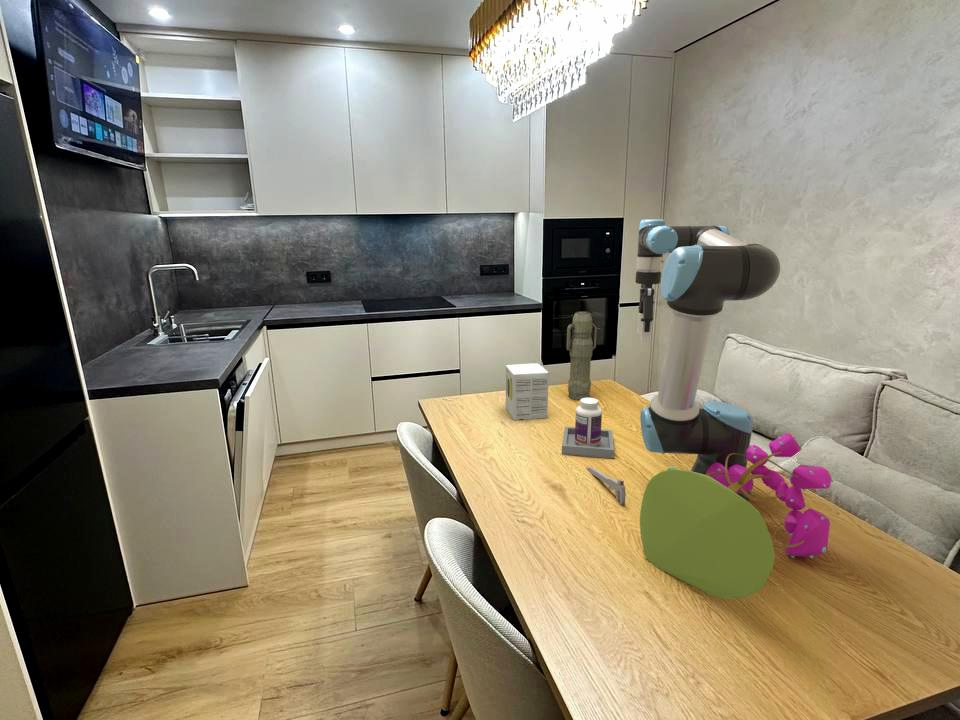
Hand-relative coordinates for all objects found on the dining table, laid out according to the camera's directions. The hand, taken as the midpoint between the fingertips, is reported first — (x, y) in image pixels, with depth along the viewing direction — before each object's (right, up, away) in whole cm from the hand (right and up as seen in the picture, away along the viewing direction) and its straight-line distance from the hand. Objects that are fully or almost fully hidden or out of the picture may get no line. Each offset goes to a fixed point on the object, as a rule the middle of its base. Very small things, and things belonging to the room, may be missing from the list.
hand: (643, 337), depth 161 cm
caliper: (-19, -42, -26) cm, 53 cm away
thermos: (-12, -23, +43) cm, 50 cm away
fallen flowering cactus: (+2, -49, -53) cm, 72 cm away
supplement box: (-36, -27, +26) cm, 52 cm away
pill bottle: (-19, -34, -2) cm, 39 cm away
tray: (-19, -35, -2) cm, 39 cm away
